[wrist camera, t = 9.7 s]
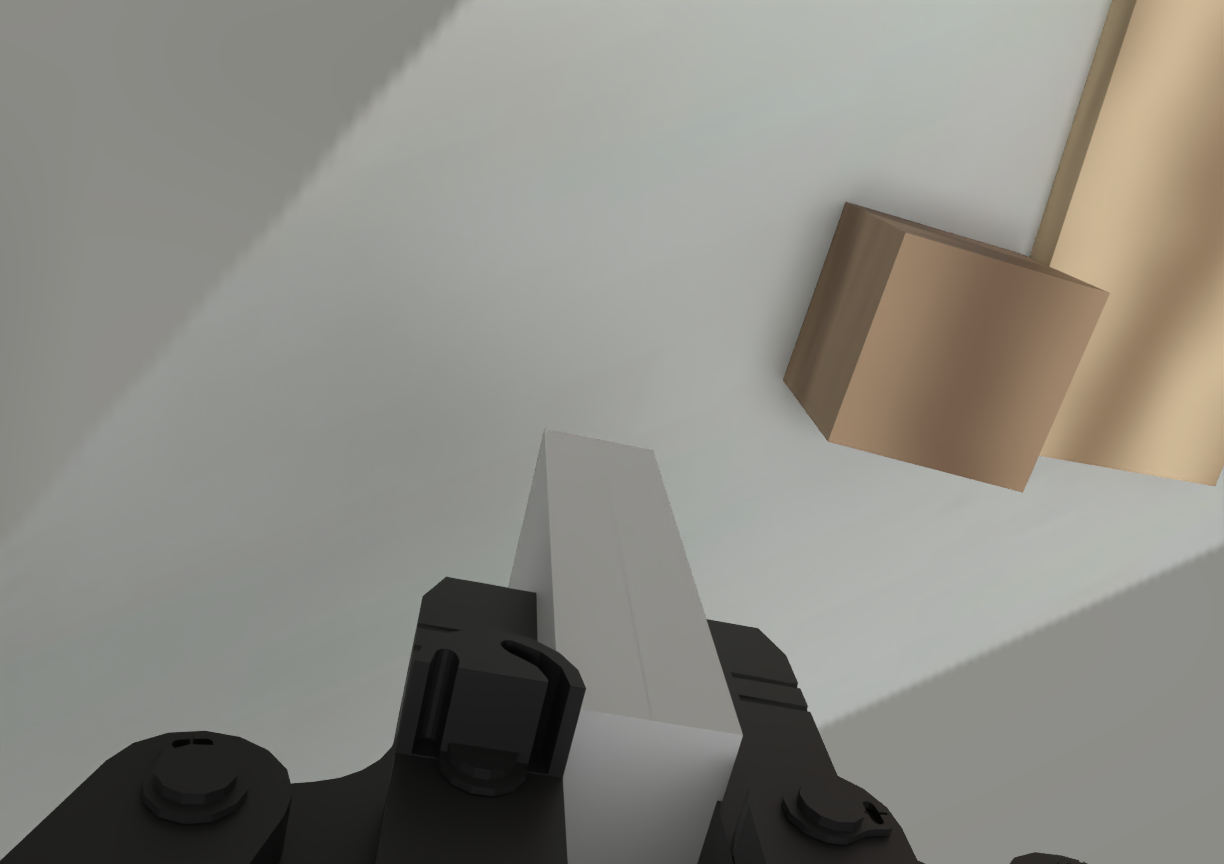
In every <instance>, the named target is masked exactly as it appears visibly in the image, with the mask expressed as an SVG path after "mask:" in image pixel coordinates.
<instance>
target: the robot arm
mask: <svg viewBox="0 0 1224 864" xmlns="http://www.w3.org/2000/svg"><path fill="white" fill-rule="evenodd" d="M797 685H798V682H797V680H796V678H795V675H794V673H793V671H792V668H791V666H790V664H789V661H788V659H787V657H786V655H785V654H784V653H783V652H782V651H781V650H780V649H779V648H778V647H777V646H776V645H775V644H774V643H773V642H772V641H771V640H770V639H769V638H768V637H767V636H766V635H764V634H763V633H762V632H761V631H760V630H759V629H758V628H753V627H747V626H742V625H736V624H730V623H725V622H719V621H713V620H708V619H706V617H705V614H704V610H703V607H702V604H701V601H700V598H699V595H698V591H697V588H696V585H695V582H694V579H693V576H692V573H691V569H690V566H689V563H688V560H687V557H686V554H685V550H684V547H683V544H682V541H681V538H680V535H679V531H678V528H677V525H676V522H675V519H674V516H673V513H672V509H671V506H670V503H669V500H668V497H667V494H666V490H665V487H664V484H663V481H662V478H661V475H660V471H659V468H658V465H657V462H656V459H655V456H654V452H653V450H648V449H643V448H638V447H633V446H628V445H623V444H618V443H613V442H608V441H603V440H598V439H592V438H587V437H582V436H577V435H572V434H567V433H562V432H557V431H552V430H547V429H544V433H543V437H542V442H541V446H540V451H539V455H538V459H537V464H536V468H535V473H534V477H533V481H532V486H531V490H530V494H529V499H528V503H527V508H526V512H525V516H524V521H523V525H522V530H521V534H520V538H519V543H518V547H517V551H516V556H515V560H514V565H513V569H512V573H511V578H510V582H509V587H508V588H506V587H501V586H495V585H489V584H484V583H478V582H472V581H467V580H461V579H455V578H450V577H445V578H444V579H443V580H442V581H441V582H439V583H438V584H437V585H436V586H435V587H433V588H432V589H431V590H430V591H428V592H427V593H426V594H425V595H424V596H423V598H422V603H421V608H420V613H419V618H418V623H417V628H416V633H415V638H414V643H413V647H412V652H411V657H410V662H409V667H408V672H407V677H406V682H405V687H404V692H403V697H402V702H401V707H400V712H399V717H398V722H397V728H396V733H395V738H394V743H393V746H392V747H391V748H390V749H389V750H388V752H387V753H386V754H385V755H384V756H383V757H382V758H381V759H380V760H378V761H377V762H375V763H374V764H372V765H370V766H369V767H367V768H365V769H364V770H362V771H359V772H356V773H353V774H350V775H347V776H344V777H341V778H336V779H330V780H323V781H317V782H306V783H293V784H291V783H290V779H289V775H288V772H287V769H286V768H285V767H284V766H283V765H282V764H281V763H280V762H279V761H278V760H277V759H276V758H275V757H274V756H273V755H272V754H271V753H270V752H269V751H268V750H266V749H264V748H262V747H260V746H258V745H256V744H254V743H251V742H249V741H247V740H245V739H243V738H241V737H237V736H231V735H225V734H220V733H214V732H208V731H194V732H175V733H166V734H162V735H159V736H156V737H152V738H149V739H145V740H142V741H139V742H135V743H133V744H131V745H130V746H128V747H127V748H125V749H124V750H122V751H120V752H119V753H117V754H116V755H114V756H113V757H111V758H110V759H108V760H106V761H105V762H104V763H103V764H102V765H101V766H100V767H99V768H98V769H97V770H96V771H95V772H94V773H93V774H92V775H91V776H90V777H88V778H87V779H86V780H85V781H84V782H83V783H82V784H81V785H80V786H79V787H78V788H77V789H76V790H75V791H74V792H73V793H72V794H70V795H69V796H68V797H67V798H66V799H65V800H64V801H63V802H62V803H61V804H60V805H59V806H58V807H57V808H56V809H55V810H54V811H52V812H51V813H50V814H49V815H48V816H47V817H46V818H45V819H44V820H43V821H42V822H41V823H40V824H39V825H38V826H37V827H36V828H34V829H33V830H32V831H31V832H30V833H29V834H28V835H27V836H26V837H25V838H24V839H23V840H22V841H21V842H20V843H19V844H18V845H16V846H15V847H14V848H13V849H12V850H11V851H10V852H9V853H8V854H7V855H6V856H5V857H4V858H3V859H2V860H1V861H0V864H924V863H922V862H920V861H917V859H916V857H915V855H914V853H913V850H912V848H911V846H910V844H909V842H908V840H907V838H906V836H905V834H904V832H903V829H902V828H901V826H900V825H899V824H898V822H897V821H896V819H895V818H894V817H893V815H892V814H891V813H890V811H889V810H888V808H887V807H885V806H884V805H883V804H882V803H880V802H879V801H878V800H877V799H875V798H874V797H873V796H872V795H870V794H869V793H868V792H867V791H865V790H864V789H863V788H860V787H859V786H857V785H854V784H853V783H851V782H849V781H847V780H845V779H843V778H841V777H839V776H837V773H836V771H835V769H834V767H833V764H832V762H831V759H830V757H829V755H828V752H827V750H826V748H825V745H824V743H823V741H822V738H821V736H820V734H819V731H818V729H817V727H816V724H815V722H814V720H813V717H812V715H811V713H810V712H808V711H807V707H808V706H807V703H806V701H805V699H804V696H803V694H802V692H801V689H800V688H797ZM1010 864H1087V863H1085V862H1083V863H1081V862H1079V860H1076V859H1072V858H1068V857H1065V856H1060V855H1052V854H1044V853H1036V852H1035V853H1031V854H1027V855H1023V856H1019V857H1015V858H1014V859H1013V860H1012V861H1011V863H1010Z"/></svg>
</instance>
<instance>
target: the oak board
mask: <svg viewBox="0 0 1224 864" xmlns="http://www.w3.org/2000/svg"><path fill="white" fill-rule="evenodd" d="M1030 258H1031V259H1033V260H1036V261H1038V262H1040V263H1043V264H1045V265H1047V266H1049V267H1052V268H1054V269H1056V270H1059V271H1061V272H1063V273H1065V274H1068V275H1070V276H1072V277H1075V278H1077V279H1079V280H1081V281H1084V282H1086V283H1088V284H1091V285H1093V286H1095V287H1097V288H1100V289H1102V290H1104V291H1107V292H1109V293H1110V294H1109V297H1108V299H1107V301H1106V303H1105V306H1104V308H1103V310H1102V313H1101V315H1100V317H1099V319H1098V322H1097V324H1096V326H1095V329H1094V331H1093V333H1092V335H1091V338H1090V340H1089V342H1088V345H1087V347H1086V349H1085V351H1084V354H1083V356H1082V358H1081V361H1080V363H1079V365H1078V367H1077V370H1076V372H1075V374H1074V377H1073V379H1072V381H1071V383H1070V386H1069V388H1068V390H1067V393H1066V395H1065V397H1064V399H1063V402H1062V404H1061V406H1060V409H1059V411H1058V413H1057V415H1056V418H1055V420H1054V422H1053V425H1052V427H1051V429H1050V431H1049V434H1048V436H1047V438H1046V441H1045V443H1044V445H1043V447H1042V450H1041V452H1040V454H1039V456H1045V457H1050V458H1056V459H1062V460H1067V461H1073V462H1079V463H1085V464H1090V465H1096V466H1102V467H1107V468H1113V469H1119V470H1125V471H1130V472H1136V473H1142V474H1148V475H1153V476H1159V477H1165V478H1170V479H1176V480H1182V481H1188V482H1193V483H1199V484H1205V485H1211V486H1215V485H1216V483H1217V480H1218V478H1219V475H1220V473H1221V470H1222V468H1223V465H1224V0H1112V3H1111V6H1110V9H1109V12H1108V15H1107V19H1106V22H1105V25H1104V28H1103V31H1102V34H1101V37H1100V40H1099V44H1098V47H1097V50H1096V53H1095V56H1094V59H1093V62H1092V65H1091V68H1090V72H1089V75H1088V78H1087V81H1086V84H1085V87H1084V90H1083V93H1082V97H1081V100H1080V103H1079V106H1078V109H1077V112H1076V115H1075V118H1074V121H1073V125H1072V128H1071V131H1070V134H1069V137H1068V140H1067V143H1066V146H1065V150H1064V153H1063V156H1062V159H1061V162H1060V165H1059V168H1058V171H1057V174H1056V178H1055V181H1054V184H1053V187H1052V190H1051V193H1050V196H1049V199H1048V203H1047V206H1046V209H1045V212H1044V215H1043V218H1042V221H1041V224H1040V227H1039V231H1038V234H1037V237H1036V240H1035V243H1034V246H1033V249H1032V252H1031V255H1030Z"/></svg>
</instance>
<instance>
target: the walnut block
mask: <svg viewBox="0 0 1224 864" xmlns="http://www.w3.org/2000/svg"><path fill="white" fill-rule="evenodd" d="M1109 294H1110V293H1109V292H1107V291H1104V290H1102V289H1100V288H1097V287H1095V286H1093V285H1091V284H1088V283H1086V282H1084V281H1081V280H1079V279H1077V278H1075V277H1072V276H1070V275H1068V274H1065V273H1063V272H1061V271H1059V270H1056V269H1054V268H1052V267H1049V266H1047V265H1045V264H1043V263H1040V262H1038V261H1036V260H1033V259H1031V258H1029V257H1027V256H1024V255H1022V254H1020V253H1016V252H1013V251H1009V250H1006V249H1003V248H999V247H996V246H993V245H989V244H986V243H983V242H979V241H976V240H973V239H969V238H966V237H962V236H959V235H956V234H952V233H949V232H946V231H942V230H939V229H936V228H932V227H929V226H925V225H922V224H919V223H915V222H912V221H909V220H905V219H902V218H899V217H895V216H892V215H889V214H885V213H882V212H878V211H875V210H872V209H868V208H865V207H862V206H858V205H855V204H852V203H848V202H846V203H845V206H844V209H843V211H842V214H841V217H840V220H839V223H838V226H837V229H836V231H835V234H834V237H833V240H832V243H831V246H830V248H829V251H828V254H827V257H826V260H825V263H824V265H823V268H822V271H821V274H820V277H819V280H818V282H817V285H816V288H815V291H814V294H813V297H812V299H811V302H810V305H809V308H808V311H807V314H806V316H805V319H804V322H803V325H802V328H801V331H800V333H799V336H798V339H797V342H796V345H795V348H794V350H793V353H792V356H791V359H790V362H789V365H788V367H787V370H786V373H785V376H784V379H783V381H784V382H785V384H786V385H787V386H788V388H789V389H790V390H791V392H792V393H793V394H794V396H795V397H796V399H797V400H798V401H799V403H800V404H801V405H802V407H803V408H804V409H805V411H806V412H807V414H808V415H809V416H810V418H811V419H812V420H813V422H814V423H815V425H816V426H817V427H818V429H819V430H820V431H821V433H822V434H823V435H824V437H825V438H826V440H827V441H828V442H832V443H836V444H840V445H843V446H847V447H851V448H855V449H859V450H863V451H866V452H870V453H874V454H878V455H882V456H886V457H889V458H893V459H897V460H901V461H905V462H908V463H912V464H916V465H920V466H924V467H928V468H931V469H935V470H939V471H943V472H947V473H951V474H954V475H958V476H962V477H966V478H970V479H974V480H977V481H981V482H985V483H989V484H993V485H996V486H1000V487H1004V488H1008V489H1012V490H1016V491H1019V492H1023V491H1024V489H1025V486H1026V484H1027V482H1028V479H1029V477H1030V475H1031V473H1032V470H1033V468H1034V466H1035V463H1036V461H1037V459H1038V457H1039V454H1040V452H1041V450H1042V447H1043V445H1044V443H1045V441H1046V438H1047V436H1048V434H1049V431H1050V429H1051V427H1052V425H1053V422H1054V420H1055V418H1056V415H1057V413H1058V411H1059V409H1060V406H1061V404H1062V402H1063V399H1064V397H1065V395H1066V393H1067V390H1068V388H1069V386H1070V383H1071V381H1072V379H1073V377H1074V374H1075V372H1076V370H1077V367H1078V365H1079V363H1080V361H1081V358H1082V356H1083V354H1084V351H1085V349H1086V347H1087V345H1088V342H1089V340H1090V338H1091V335H1092V333H1093V331H1094V329H1095V326H1096V324H1097V322H1098V319H1099V317H1100V315H1101V313H1102V310H1103V308H1104V306H1105V303H1106V301H1107V299H1108V297H1109Z"/></svg>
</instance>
